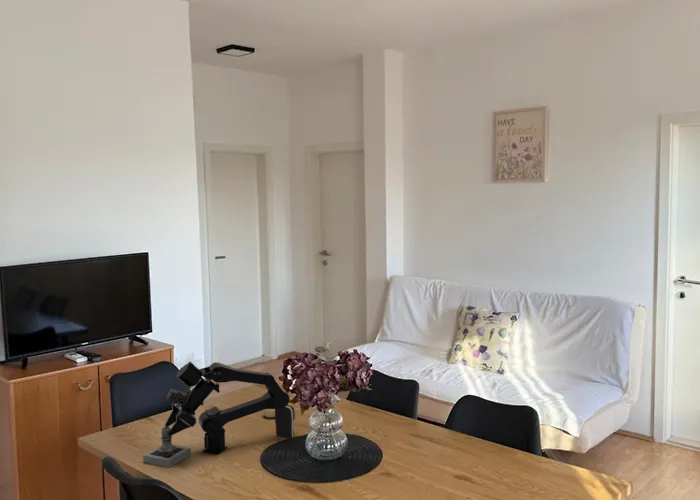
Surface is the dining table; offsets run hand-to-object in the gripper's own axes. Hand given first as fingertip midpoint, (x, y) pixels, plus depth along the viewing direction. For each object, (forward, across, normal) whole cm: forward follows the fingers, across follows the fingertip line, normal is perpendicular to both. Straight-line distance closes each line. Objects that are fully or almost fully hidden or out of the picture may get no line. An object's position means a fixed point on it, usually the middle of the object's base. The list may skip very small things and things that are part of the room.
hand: (167, 430), depth 220 cm
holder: (+7, 0, +7) cm, 10 cm away
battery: (-23, -3, +37) cm, 43 cm away
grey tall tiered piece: (+7, 0, +7) cm, 10 cm away
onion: (-23, -25, +38) cm, 51 cm away
